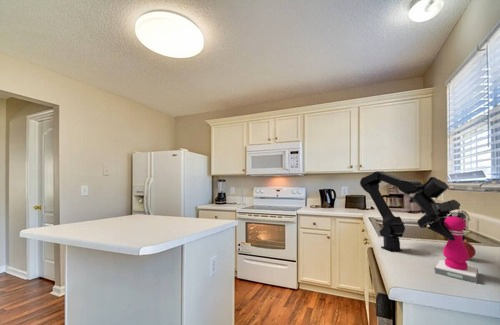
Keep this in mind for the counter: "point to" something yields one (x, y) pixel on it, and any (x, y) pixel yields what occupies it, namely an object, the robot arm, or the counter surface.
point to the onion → (469, 249)
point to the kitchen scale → (457, 272)
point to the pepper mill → (455, 244)
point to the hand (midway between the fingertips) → (459, 239)
